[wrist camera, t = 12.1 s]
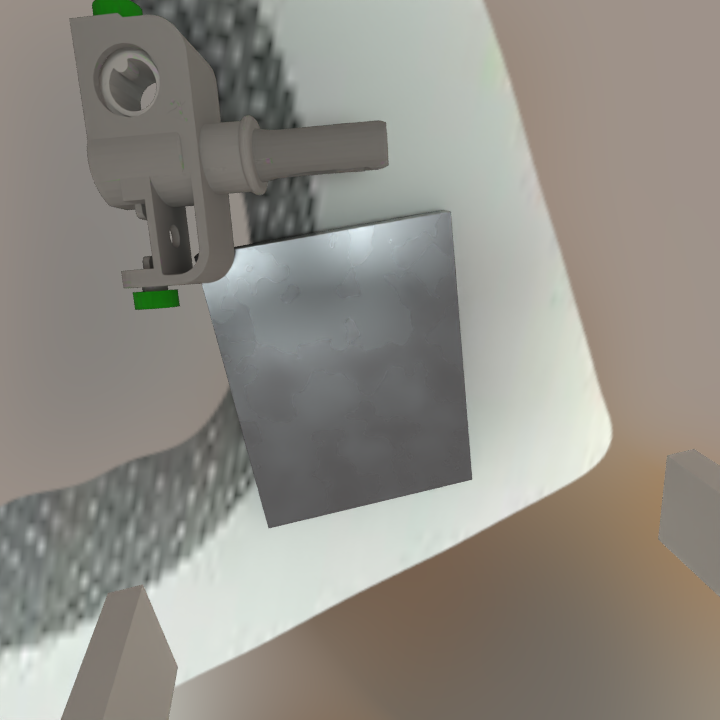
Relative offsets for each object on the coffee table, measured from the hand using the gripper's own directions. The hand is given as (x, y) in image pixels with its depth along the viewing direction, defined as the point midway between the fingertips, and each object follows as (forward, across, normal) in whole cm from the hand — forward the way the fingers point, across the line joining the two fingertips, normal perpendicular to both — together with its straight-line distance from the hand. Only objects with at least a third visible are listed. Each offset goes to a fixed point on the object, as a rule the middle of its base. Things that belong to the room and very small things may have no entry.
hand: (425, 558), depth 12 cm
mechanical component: (+9, +3, +10) cm, 13 cm away
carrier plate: (+13, 0, 0) cm, 13 cm away
